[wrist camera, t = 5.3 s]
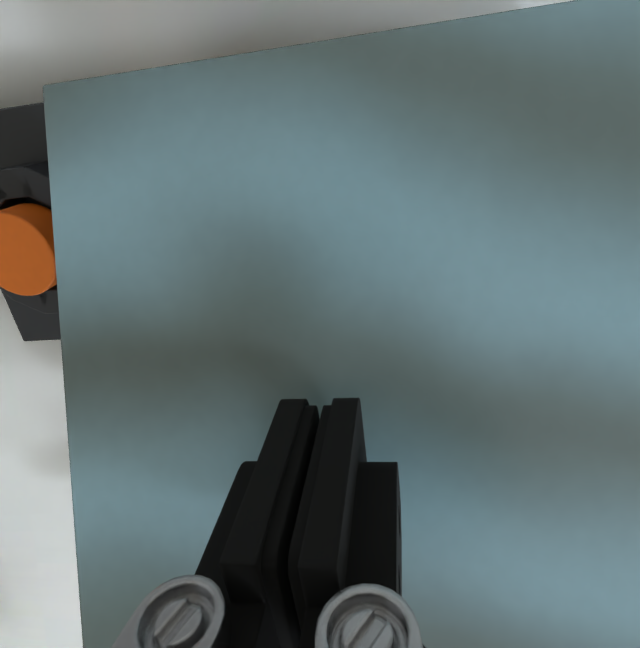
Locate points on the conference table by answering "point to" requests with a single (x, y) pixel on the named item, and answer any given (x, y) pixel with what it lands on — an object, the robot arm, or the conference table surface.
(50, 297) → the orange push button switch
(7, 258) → the button
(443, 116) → the hatch
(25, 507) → the conference table surface
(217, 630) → the robot arm
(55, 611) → the conference table surface
